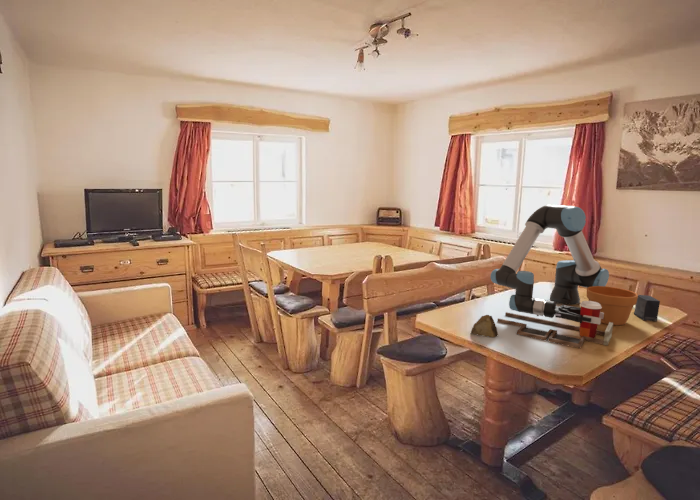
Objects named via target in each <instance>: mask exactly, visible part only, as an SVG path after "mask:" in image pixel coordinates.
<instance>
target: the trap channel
mask: <svg viewBox="0 0 700 500" xmlns="http://www.w3.org/2000/svg"><path fill="white" fill-rule="evenodd" d="M505 316H506V317H511V318H516V319H519V320H520V319H521V320H525V321H531V322H534V323H535V322H536V323H541V324H546V325H550V326H555V327H560V328H565V329H570V330H574V331H575V330H576V331H579V332H580V325H579V326H578V325H573V324H567V323H563V322H558V321H553V320H548V319H543V318H538V317H532V316H528V315H522V314H518V313H513V312H508V311H506V312H505ZM497 323H501V324H506V325H511V326H514V327H515V326H516V327H519V328H518V329H517V330H516V335H518V334H519V335H518V336H522V335H523V336H524V337H526V338H531V337H532V339H535V338H536V340H540V339H541V340H540V341H544V340H546V341H548V342H549V341H550V343H553V342H555V343H554V344H558V343H559V345H562V344H563V346H567V345H569V346H568V347H571V346H573V347H572V348H576V347H578V348H577V349H581V348H580V347H582V346H583V344H584V343H583V342H585V341H586V342H590V343H595V344H600V345H603V346H609V343H610V342H611V339H612V336H613V328H614V325H613V323H611V322H609V324H607V326H606V329H605V330H603V331H602V330H599V329H597V331H596V335H600V336H603V337H604V338H603V339H600V338H596V337H595V338H591V337H586V336H581V338H577V337H572V336H567V335H563V334H560V333H558V330H555V329H552V328H549V330H547V331H545V330H541V329H535V328H530V327H528V326H527V325H528V324H527V323H522V322H518V321H512V320H509V319H503V318H497ZM547 338H548V339H547Z"/></svg>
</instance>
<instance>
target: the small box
mask: <svg viewBox="0 0 700 500" xmlns="http://www.w3.org/2000/svg"><path fill="white" fill-rule="evenodd" d="M660 303H661V301H660V300H659V299H657V298H654V297H653V296H651V295H644V294H638V298H637V302H636V304H635V305H634V312H633V315H635V316H636V317H637V318H639V319H641V320H642V321H648V322H658V315H659V310H660Z"/></svg>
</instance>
